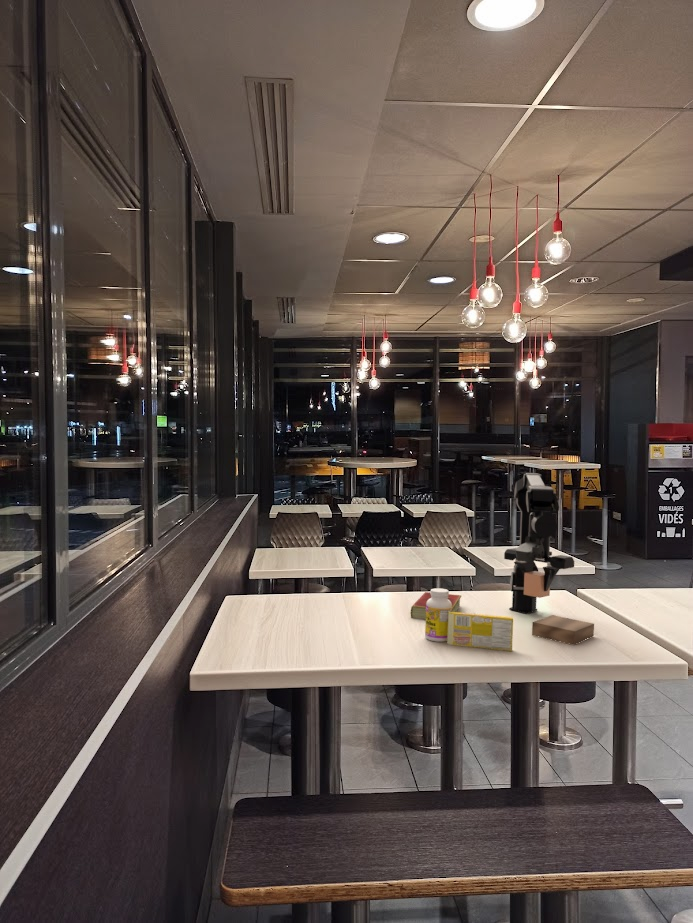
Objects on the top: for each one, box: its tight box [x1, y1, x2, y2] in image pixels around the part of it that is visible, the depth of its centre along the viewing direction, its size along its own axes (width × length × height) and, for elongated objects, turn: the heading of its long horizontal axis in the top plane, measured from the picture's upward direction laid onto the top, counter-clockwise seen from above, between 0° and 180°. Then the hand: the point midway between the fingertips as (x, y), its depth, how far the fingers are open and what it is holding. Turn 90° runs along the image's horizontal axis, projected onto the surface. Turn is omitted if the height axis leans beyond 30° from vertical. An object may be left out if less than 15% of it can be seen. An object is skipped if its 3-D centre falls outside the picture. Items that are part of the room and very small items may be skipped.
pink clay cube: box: [524, 571, 551, 599], centre depth 187 cm, size 5×5×6 cm
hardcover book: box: [410, 591, 462, 620], centre depth 207 cm, size 12×21×4 cm, turn 163°
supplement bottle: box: [424, 587, 452, 643], centre depth 177 cm, size 7×7×13 cm
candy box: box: [446, 611, 514, 652], centre depth 172 cm, size 16×2×8 cm, turn 74°
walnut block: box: [531, 614, 595, 645], centre depth 185 cm, size 12×12×4 cm
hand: (537, 589), depth 187 cm, fingers closed on pink clay cube, 5 cm apart
